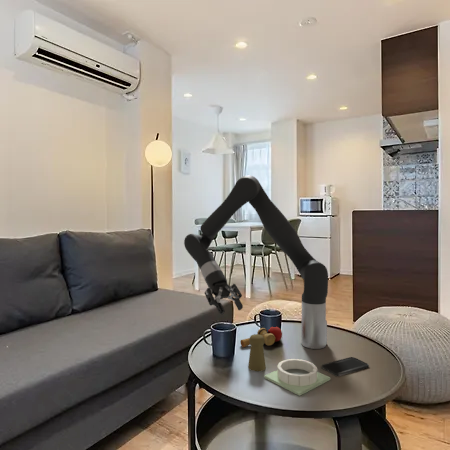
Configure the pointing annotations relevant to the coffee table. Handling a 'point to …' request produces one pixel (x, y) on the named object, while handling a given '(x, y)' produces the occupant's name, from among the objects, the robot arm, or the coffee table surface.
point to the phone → (345, 366)
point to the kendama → (266, 336)
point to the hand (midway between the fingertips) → (232, 311)
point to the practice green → (297, 376)
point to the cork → (256, 353)
